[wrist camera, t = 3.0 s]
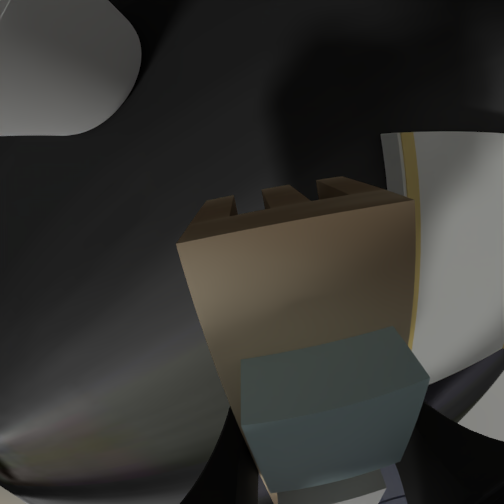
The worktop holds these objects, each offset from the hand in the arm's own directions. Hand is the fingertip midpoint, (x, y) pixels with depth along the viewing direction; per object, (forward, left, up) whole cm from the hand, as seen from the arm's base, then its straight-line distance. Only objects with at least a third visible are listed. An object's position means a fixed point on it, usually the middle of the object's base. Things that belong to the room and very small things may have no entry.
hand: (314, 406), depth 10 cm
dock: (0, -14, -8) cm, 16 cm away
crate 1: (+3, 0, +2) cm, 4 cm away
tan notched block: (0, 0, -3) cm, 3 cm away
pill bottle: (+17, +9, -8) cm, 21 cm away
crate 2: (-3, 0, +2) cm, 4 cm away
